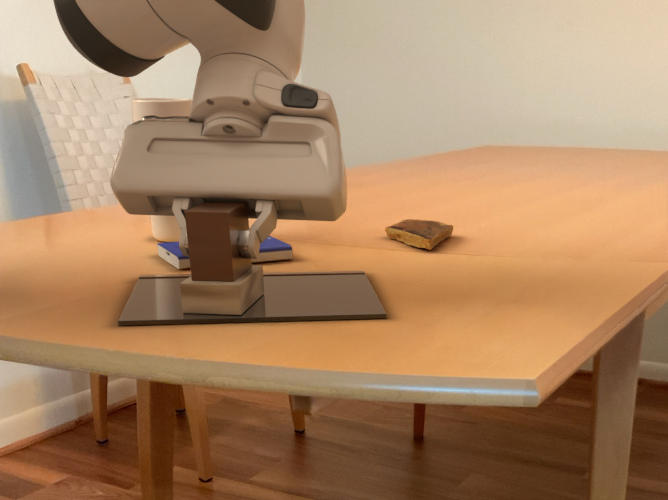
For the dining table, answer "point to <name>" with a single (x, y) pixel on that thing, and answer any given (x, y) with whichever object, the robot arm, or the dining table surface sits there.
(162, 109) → the white cup
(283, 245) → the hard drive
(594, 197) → the dining table surface
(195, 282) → the brown block with base
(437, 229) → the shard
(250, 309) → the slate
